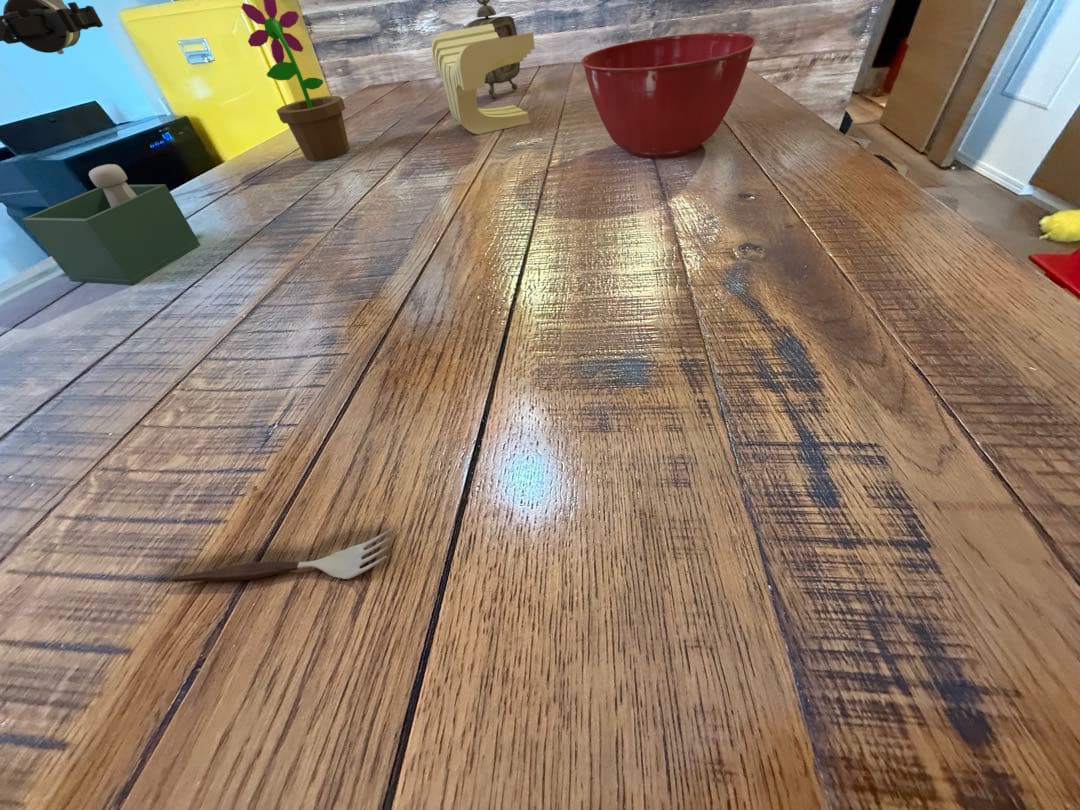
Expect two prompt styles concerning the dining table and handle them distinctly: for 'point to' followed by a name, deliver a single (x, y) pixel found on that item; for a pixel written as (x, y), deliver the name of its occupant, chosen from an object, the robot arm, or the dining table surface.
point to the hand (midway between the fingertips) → (10, 29)
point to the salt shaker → (112, 183)
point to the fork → (298, 565)
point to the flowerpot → (311, 118)
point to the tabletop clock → (503, 29)
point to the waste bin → (114, 235)
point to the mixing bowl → (667, 89)
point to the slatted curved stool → (478, 73)
